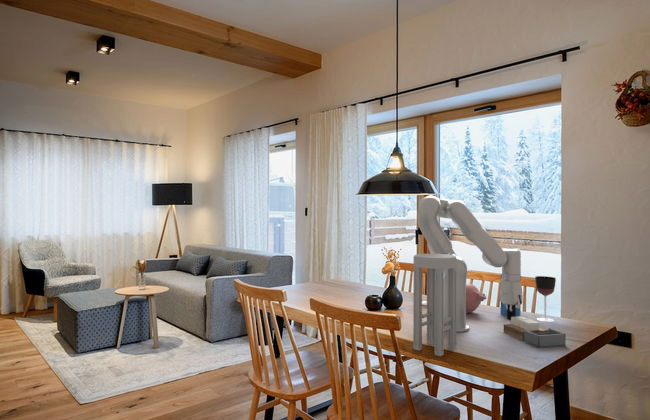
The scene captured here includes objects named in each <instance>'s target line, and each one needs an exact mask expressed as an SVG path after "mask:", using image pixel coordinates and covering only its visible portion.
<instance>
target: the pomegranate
mask: <svg viewBox="0 0 650 420" xmlns="http://www.w3.org/2000/svg"><path fill="white" fill-rule="evenodd" d="M484 300H487V296H486V294H485V293H481V292H480V290H479V289H478V287H476V285H474V284H472V283H470V282H467V281H466V314H469V313H474V312H475V311H476V310H477V309H478V308H479V306H480V304H481V302H484Z"/></svg>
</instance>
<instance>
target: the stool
mask: <svg viewBox="0 0 650 420" xmlns="http://www.w3.org/2000/svg"><path fill="white" fill-rule="evenodd" d="M423 269H426V301H427V306H426V312H424V313H423V305H422V301H423ZM444 269H448V317H446V318H444ZM456 271H457V257H456V256H454V255H448V254H431V253H417V254H415V255H413V296H412V297H413V299H412V301H413V304H412V305H413V307H412V308H413V310H412V311H413V313H412V314H413V316H412V317H413V325H412V326H413V328H412V329H413V334H412V335H413V340H412V343H413V345H412V347H413V348H412V350H416V351H421V350H422V349H423V327H425V326H426V344H427V345H430V346H433V345H434V355H435V356H438V357H443V356H444V350H445V349H444V348H445V347H444V346H445V345H444V336H445V333H444V332H446V331H447V330H448V331H447V350H448V351H455V350H457V332H456ZM425 318H426V320H425V321H423V319H425ZM447 321H448V325H447V326H444V322H447Z"/></svg>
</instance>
